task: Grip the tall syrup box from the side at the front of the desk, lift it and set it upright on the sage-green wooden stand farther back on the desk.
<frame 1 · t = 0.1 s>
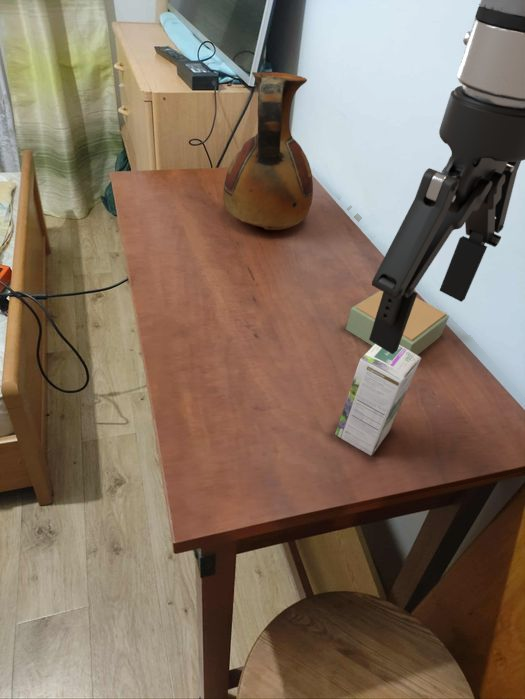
hand: (419, 318, 52), 23 cm above the table, tool pointing down, fingers open, 13 cm apart
ceramic pitcher: (265, 219, 116), on the table
syrup box: (362, 435, 70), on the table
stand: (393, 333, 89), on the table
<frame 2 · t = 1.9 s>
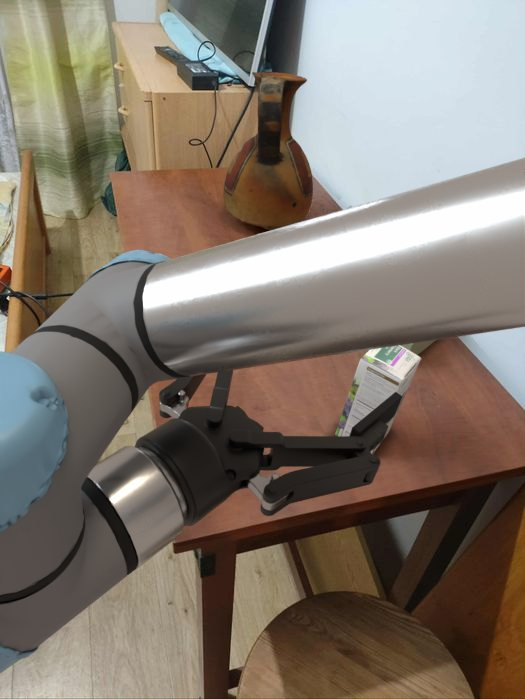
hand: (337, 364, 50), 20 cm above the table, tool horizontal, fingers open, 13 cm apart
nothing on the table moved.
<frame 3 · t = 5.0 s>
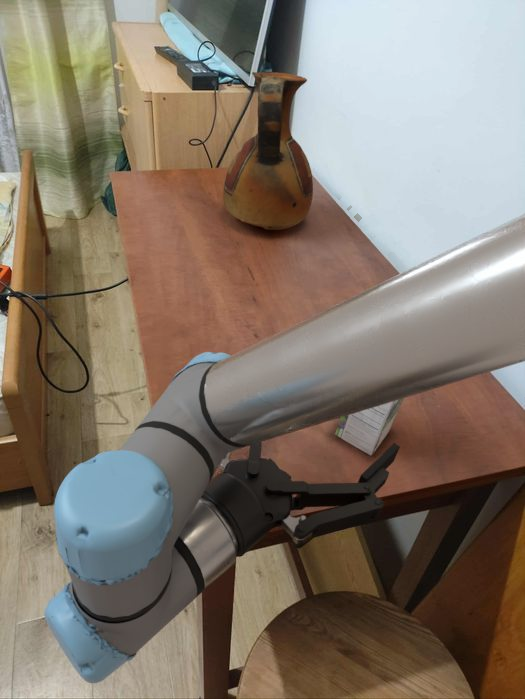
hand: (346, 417, 61), 8 cm above the table, tool horizontal, fingers open, 13 cm apart
nothing on the table moved.
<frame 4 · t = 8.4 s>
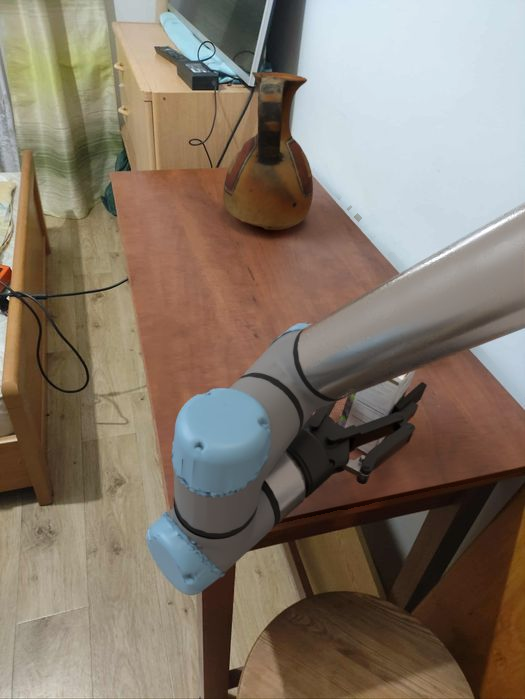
hand: (398, 376, 68), 8 cm above the table, tool horizontal, fingers closed on syrup box, 6 cm apart
syrup box: (362, 435, 70), on the table, touching gripper
everything else where it was.
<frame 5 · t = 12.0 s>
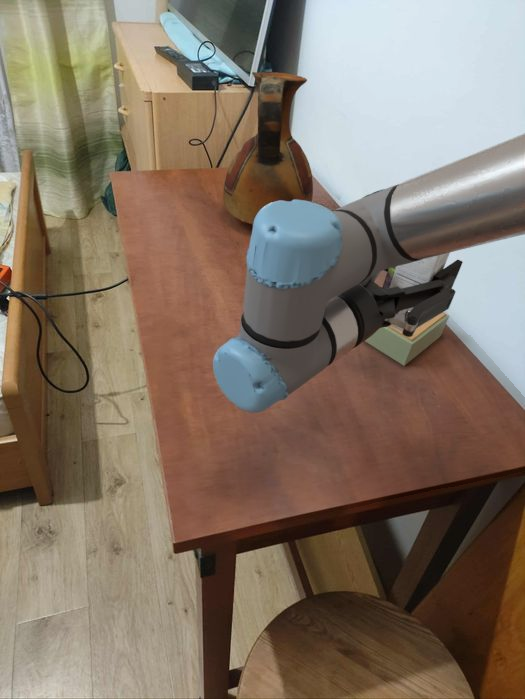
hand: (434, 258, 71), 19 cm above the table, tool horizontal, fingers closed on syrup box, 6 cm apart
syrup box: (398, 319, 73), point 11 cm above the table, touching gripper
everything else where it was.
when the fingers open (13 cm above the table, at t = 15.8 s): syrup box stays where it is, resting on stand.
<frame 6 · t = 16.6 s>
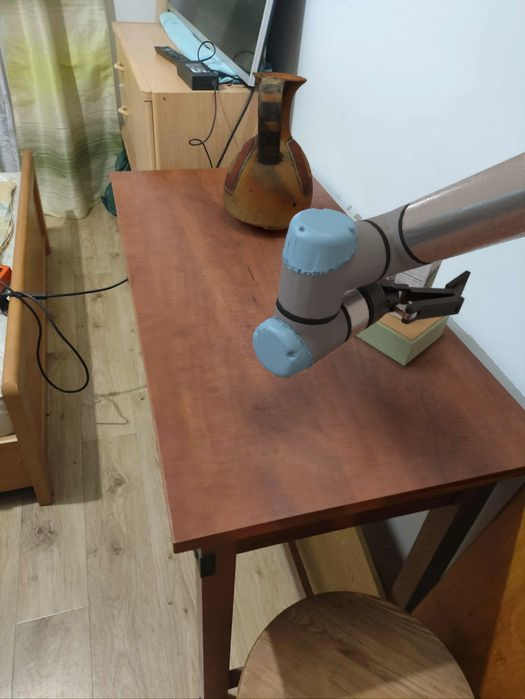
hand: (427, 259, 82), 14 cm above the table, tool horizontal, fingers open, 13 cm apart
syrup box: (401, 310, 85), point 5 cm above the table, touching stand
everything else where it was.
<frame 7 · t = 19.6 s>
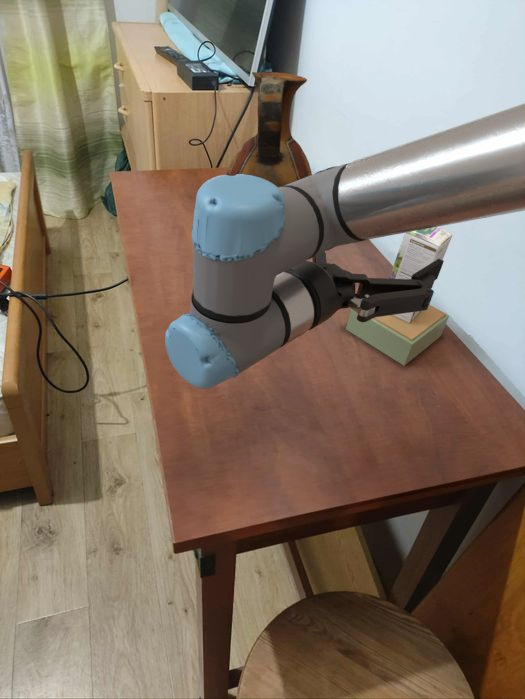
hand: (394, 247, 70), 20 cm above the table, tool horizontal, fingers open, 13 cm apart
nothing on the table moved.
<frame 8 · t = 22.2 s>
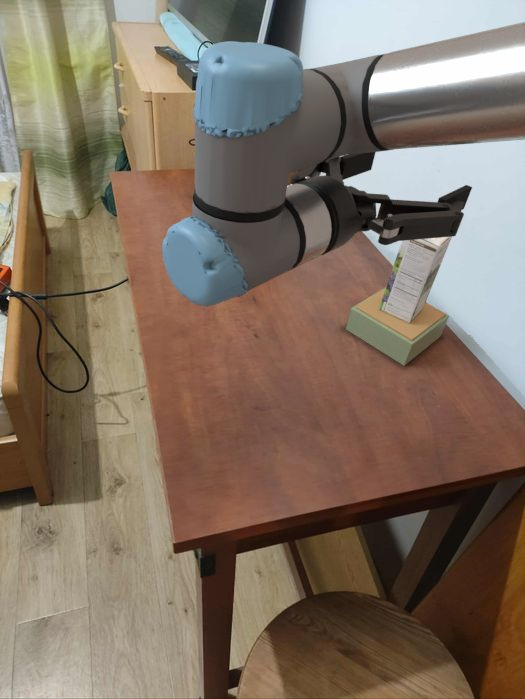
hand: (416, 176, 63), 30 cm above the table, tool horizontal, fingers open, 13 cm apart
nothing on the table moved.
at the end: syrup box inside the target area on the stand (0.0 cm from its centre), point 4.8 cm above the stand's base; syrup box tilted 0°; the gripper is holding nothing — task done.
